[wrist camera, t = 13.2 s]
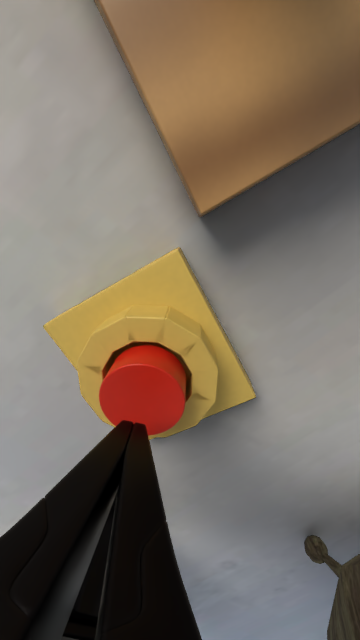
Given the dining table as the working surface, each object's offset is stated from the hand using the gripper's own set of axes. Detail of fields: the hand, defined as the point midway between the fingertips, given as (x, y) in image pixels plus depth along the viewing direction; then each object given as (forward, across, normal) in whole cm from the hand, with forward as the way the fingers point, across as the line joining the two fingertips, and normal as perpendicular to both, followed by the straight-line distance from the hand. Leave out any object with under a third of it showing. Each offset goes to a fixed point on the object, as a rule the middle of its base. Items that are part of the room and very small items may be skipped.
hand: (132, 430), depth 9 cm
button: (+3, 0, 0) cm, 3 cm away
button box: (+6, 0, 0) cm, 6 cm away
